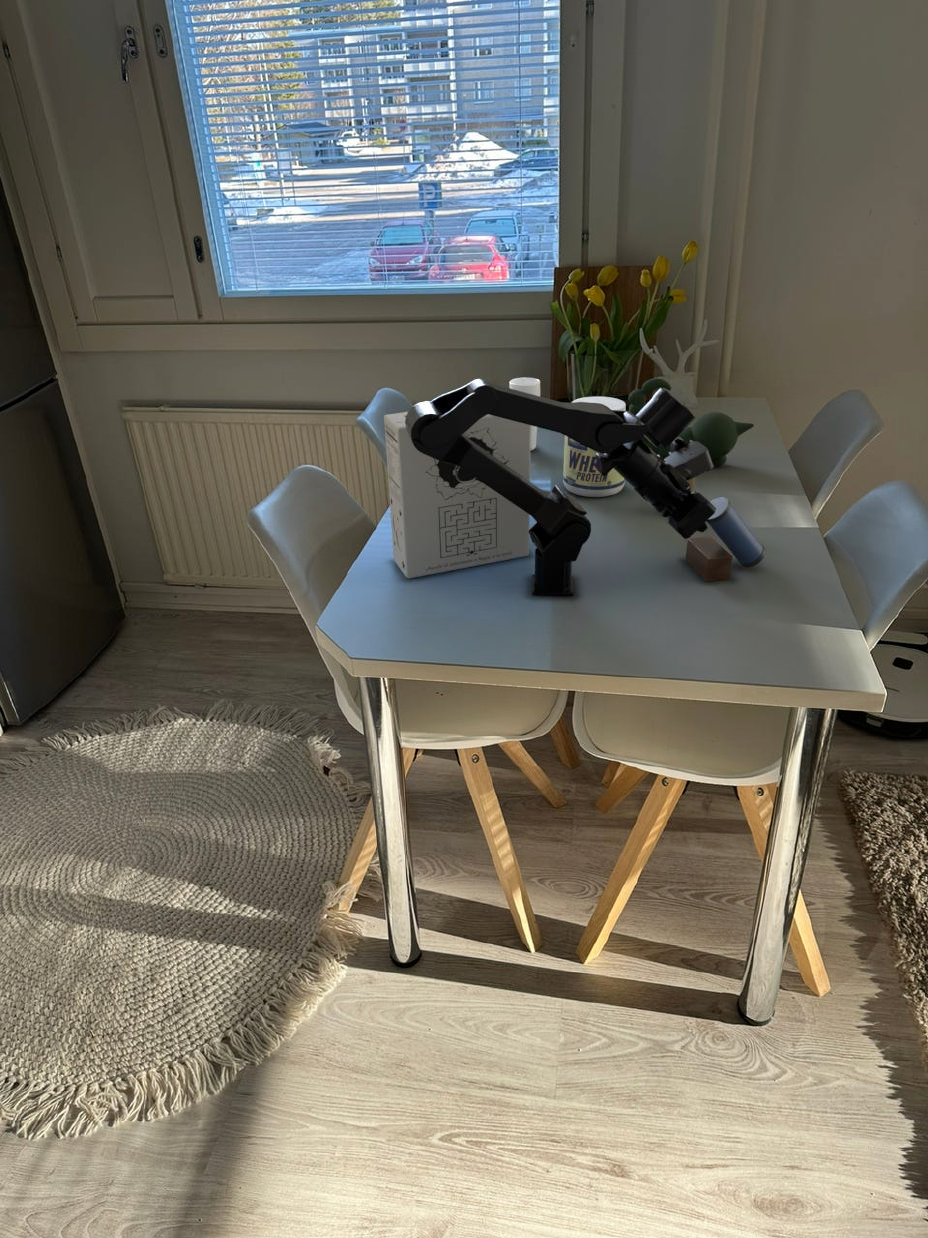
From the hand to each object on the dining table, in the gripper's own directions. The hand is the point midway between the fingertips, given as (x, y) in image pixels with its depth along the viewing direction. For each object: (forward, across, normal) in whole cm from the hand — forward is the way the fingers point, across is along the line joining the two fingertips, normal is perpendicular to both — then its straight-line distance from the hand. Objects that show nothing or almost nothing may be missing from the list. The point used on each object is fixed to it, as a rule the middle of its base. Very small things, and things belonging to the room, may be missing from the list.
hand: (704, 529), depth 138 cm
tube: (+4, 0, -3) cm, 5 cm away
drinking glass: (-3, +66, +14) cm, 68 cm away
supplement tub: (+2, +39, +9) cm, 40 cm away
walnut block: (+6, 0, +4) cm, 7 cm away
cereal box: (-21, +14, +31) cm, 40 cm away
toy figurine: (+18, +48, -8) cm, 52 cm away
